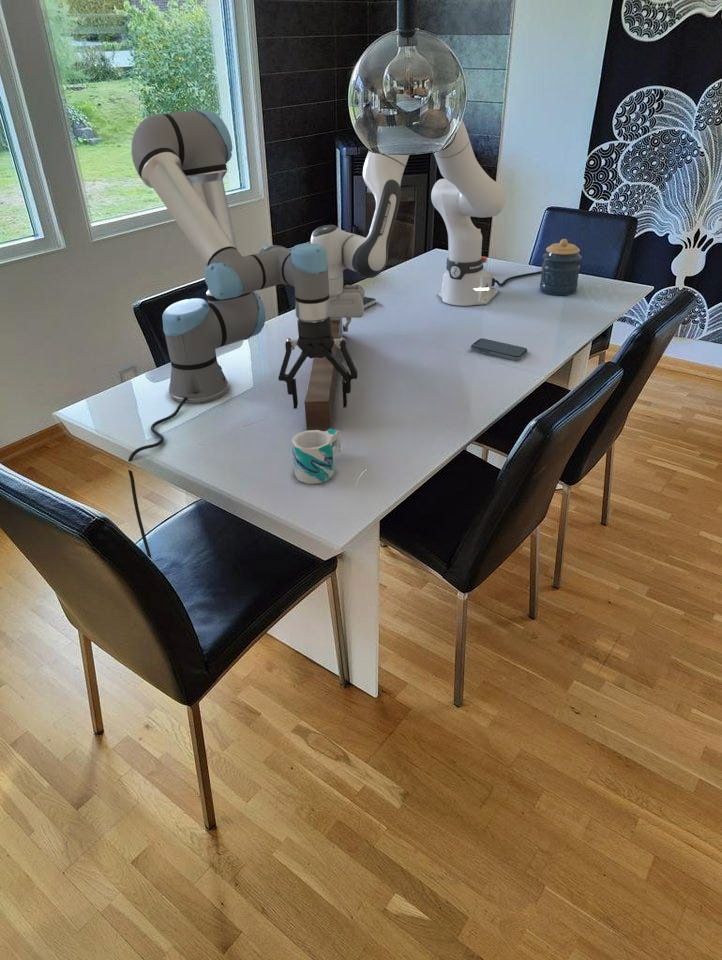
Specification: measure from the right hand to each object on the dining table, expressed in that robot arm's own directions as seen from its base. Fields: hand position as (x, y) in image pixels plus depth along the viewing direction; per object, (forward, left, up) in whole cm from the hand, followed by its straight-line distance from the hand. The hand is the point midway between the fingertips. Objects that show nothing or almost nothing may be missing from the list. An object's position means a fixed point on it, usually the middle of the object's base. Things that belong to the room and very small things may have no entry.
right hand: (331, 331), depth 201 cm
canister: (-83, +36, -4) cm, 91 cm away
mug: (+57, +43, -4) cm, 72 cm away
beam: (+19, +14, -4) cm, 24 cm away
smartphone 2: (-21, +45, -4) cm, 50 cm away
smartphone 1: (-31, -15, -4) cm, 34 cm away
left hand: (+39, +28, -1) cm, 48 cm away
